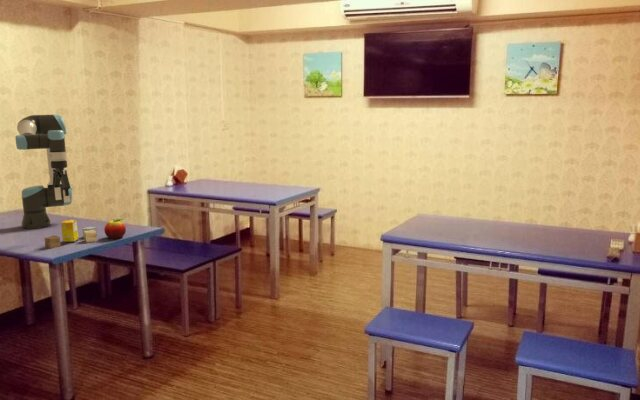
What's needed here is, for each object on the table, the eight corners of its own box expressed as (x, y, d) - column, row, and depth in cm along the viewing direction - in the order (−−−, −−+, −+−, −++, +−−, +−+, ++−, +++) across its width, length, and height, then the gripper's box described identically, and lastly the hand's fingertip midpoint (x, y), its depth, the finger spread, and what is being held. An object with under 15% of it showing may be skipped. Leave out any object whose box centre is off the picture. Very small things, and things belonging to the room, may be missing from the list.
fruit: (102, 237, 281) (100, 219, 279) (123, 234, 287) (121, 216, 285) (108, 241, 272) (106, 222, 271) (129, 237, 279) (127, 219, 277)
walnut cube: (45, 247, 262) (44, 237, 261) (54, 245, 266) (53, 235, 265) (51, 248, 260) (50, 238, 259) (60, 246, 264) (59, 236, 263)
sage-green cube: (83, 237, 281) (82, 228, 280) (89, 235, 285) (88, 226, 284) (91, 238, 279) (90, 229, 278) (97, 236, 284) (96, 227, 283)
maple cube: (84, 240, 274) (84, 231, 274) (95, 239, 277) (94, 230, 276) (86, 242, 270) (85, 233, 269) (97, 241, 273) (96, 231, 272)
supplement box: (67, 240, 275) (65, 219, 273) (79, 239, 276) (77, 219, 274) (62, 243, 269) (60, 222, 267) (74, 242, 270) (72, 222, 268)
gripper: (43, 159, 276) (47, 199, 279) (58, 161, 258) (63, 204, 261) (58, 158, 281) (62, 197, 284) (74, 160, 263) (78, 202, 266)
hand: (62, 201), depth 273 cm, fingers open, 13 cm apart
